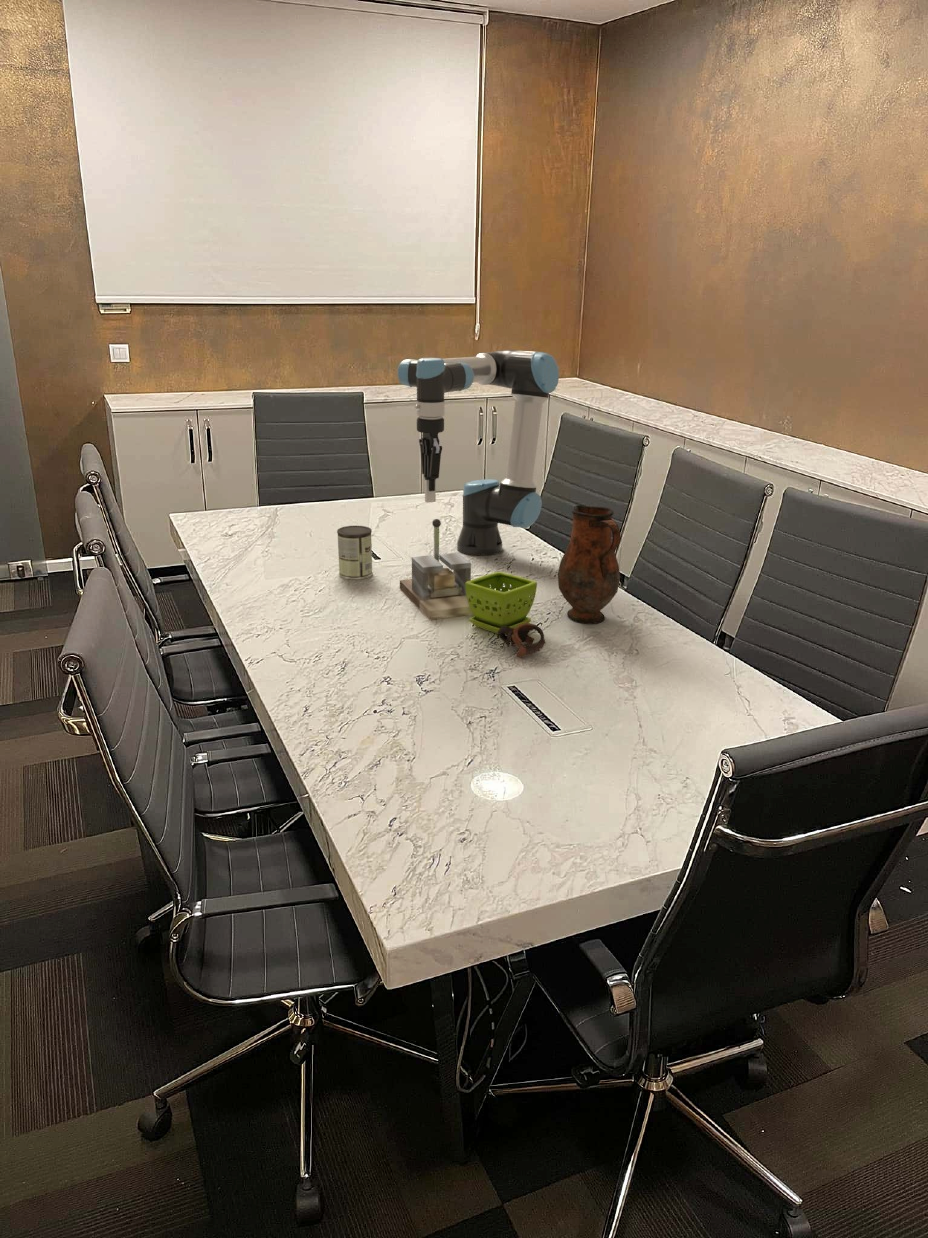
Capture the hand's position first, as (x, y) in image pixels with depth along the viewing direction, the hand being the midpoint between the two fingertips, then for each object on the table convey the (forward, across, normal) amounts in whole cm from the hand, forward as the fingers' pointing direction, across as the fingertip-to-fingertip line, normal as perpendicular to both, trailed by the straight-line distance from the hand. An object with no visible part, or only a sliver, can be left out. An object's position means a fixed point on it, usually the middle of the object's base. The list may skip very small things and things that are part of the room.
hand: (430, 501), depth 261 cm
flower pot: (+27, +34, +8) cm, 44 cm away
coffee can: (+27, -20, -17) cm, 38 cm away
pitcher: (+27, +36, +33) cm, 56 cm away
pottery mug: (+27, +50, +7) cm, 57 cm away
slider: (+24, +9, 0) cm, 25 cm away
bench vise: (+26, +10, 0) cm, 28 cm away
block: (+24, +10, 0) cm, 26 cm away
